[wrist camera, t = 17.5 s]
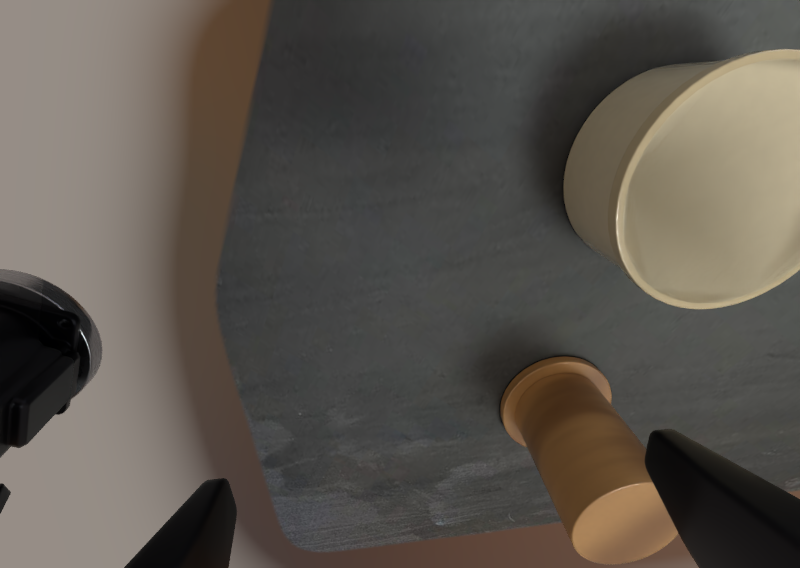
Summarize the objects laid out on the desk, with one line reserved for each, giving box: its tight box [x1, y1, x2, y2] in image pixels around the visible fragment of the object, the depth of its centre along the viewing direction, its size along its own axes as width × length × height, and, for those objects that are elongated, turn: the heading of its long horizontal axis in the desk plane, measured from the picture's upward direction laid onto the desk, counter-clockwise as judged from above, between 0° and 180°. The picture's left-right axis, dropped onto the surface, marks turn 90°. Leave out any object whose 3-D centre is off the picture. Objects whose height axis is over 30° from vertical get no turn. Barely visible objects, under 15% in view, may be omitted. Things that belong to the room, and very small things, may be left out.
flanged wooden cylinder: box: [500, 356, 679, 564], centre depth 22 cm, size 6×6×8 cm
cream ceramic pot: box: [563, 49, 800, 309], centre depth 18 cm, size 9×9×5 cm
